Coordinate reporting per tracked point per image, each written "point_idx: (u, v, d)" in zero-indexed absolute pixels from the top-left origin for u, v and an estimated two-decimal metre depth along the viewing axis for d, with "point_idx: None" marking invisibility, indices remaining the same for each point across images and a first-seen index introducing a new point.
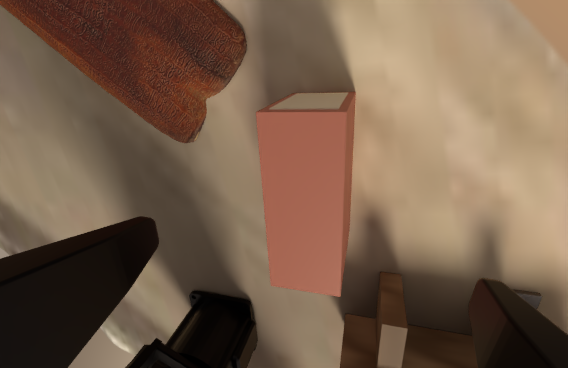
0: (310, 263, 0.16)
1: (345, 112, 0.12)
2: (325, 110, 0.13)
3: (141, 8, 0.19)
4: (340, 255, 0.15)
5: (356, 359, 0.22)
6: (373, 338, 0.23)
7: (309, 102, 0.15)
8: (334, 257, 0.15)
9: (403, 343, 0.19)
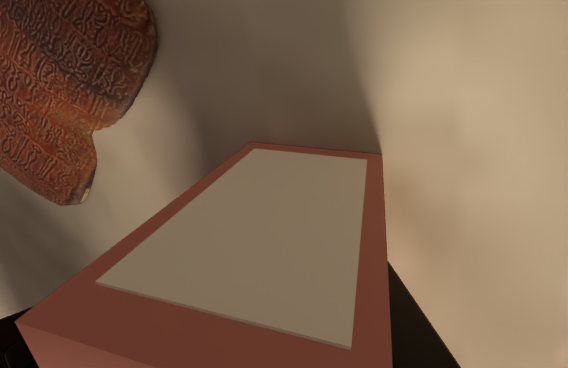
0: None
1: None
2: (293, 356, 0.03)
3: None
4: None
5: None
6: None
7: (258, 229, 0.05)
8: None
9: None
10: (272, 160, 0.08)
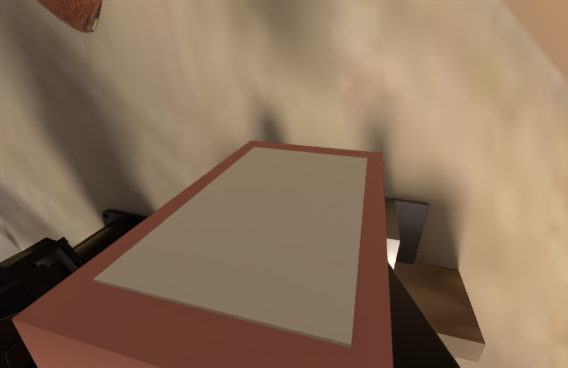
0: None
1: None
2: (293, 353, 0.03)
3: None
4: None
5: None
6: None
7: (258, 227, 0.05)
8: None
9: None
10: (272, 158, 0.08)
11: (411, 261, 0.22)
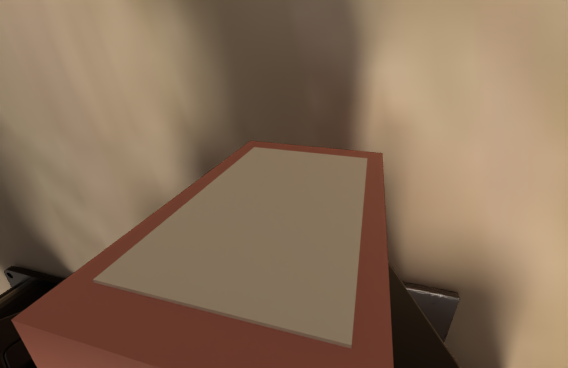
0: None
1: None
2: (293, 354, 0.03)
3: None
4: None
5: None
6: None
7: (258, 227, 0.05)
8: None
9: None
10: (272, 159, 0.08)
11: None
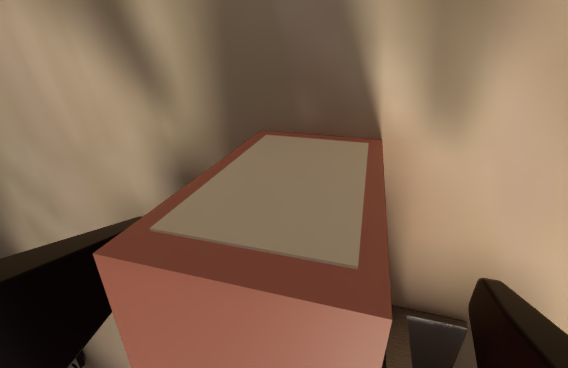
0: None
1: (387, 317, 0.03)
2: (313, 273, 0.04)
3: None
4: None
5: None
6: None
7: (277, 193, 0.06)
8: None
9: None
10: (283, 143, 0.09)
11: None
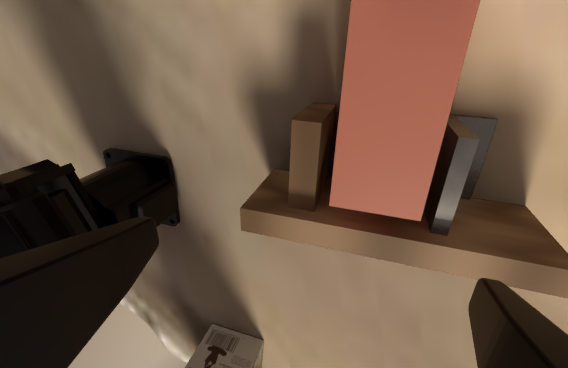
0: (389, 174, 0.12)
1: None
2: None
3: None
4: (434, 162, 0.12)
5: (270, 195, 0.18)
6: None
7: None
8: (426, 165, 0.12)
9: (317, 148, 0.15)
10: None
11: (468, 195, 0.18)
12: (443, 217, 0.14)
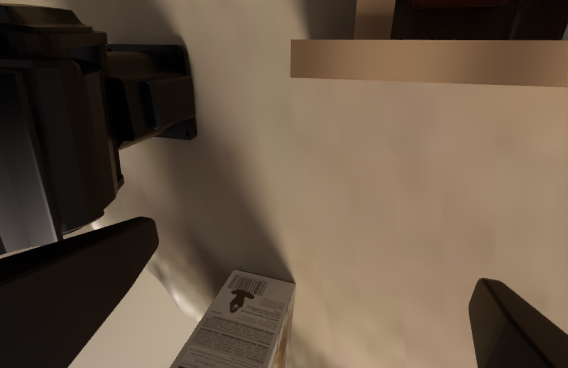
0: None
1: None
2: None
3: None
4: None
5: None
6: None
7: None
8: None
9: None
10: None
11: None
12: None
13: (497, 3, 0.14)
